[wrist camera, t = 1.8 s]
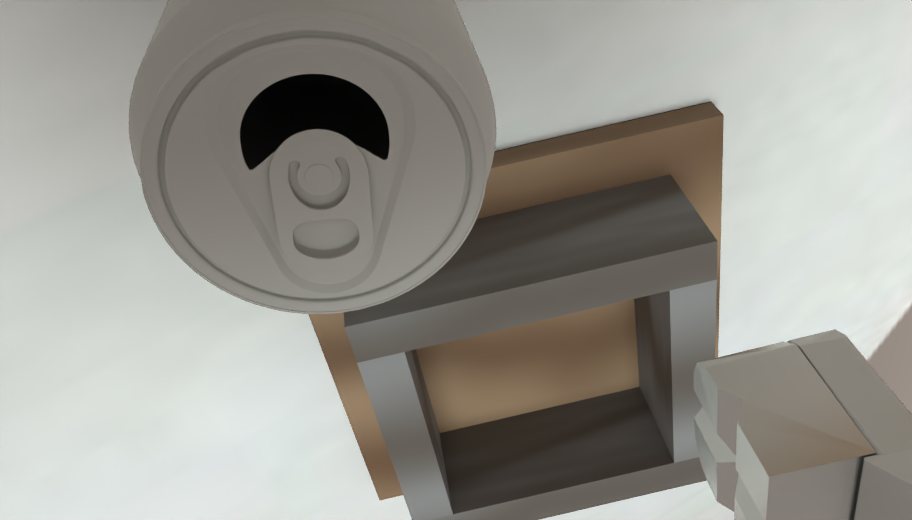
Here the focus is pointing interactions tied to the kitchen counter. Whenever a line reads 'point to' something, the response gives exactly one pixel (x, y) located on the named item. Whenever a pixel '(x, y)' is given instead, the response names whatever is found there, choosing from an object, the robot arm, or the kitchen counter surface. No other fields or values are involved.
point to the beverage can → (313, 145)
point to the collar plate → (550, 332)
